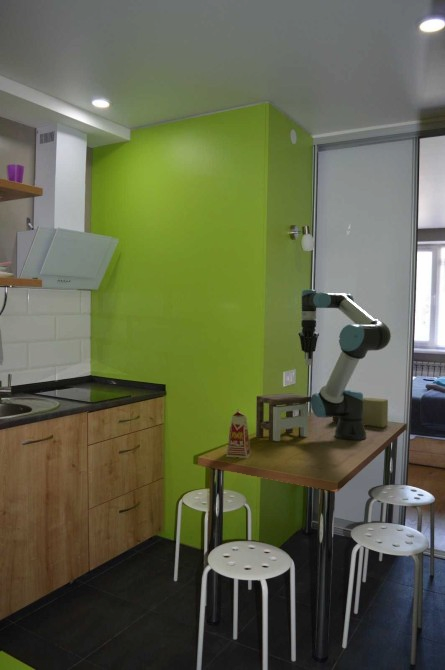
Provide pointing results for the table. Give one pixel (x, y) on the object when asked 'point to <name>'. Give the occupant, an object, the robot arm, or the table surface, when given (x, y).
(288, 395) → the stool
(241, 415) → the milk carton
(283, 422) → the gate leg
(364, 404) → the cheese
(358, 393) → the robot arm
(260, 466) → the table surface
